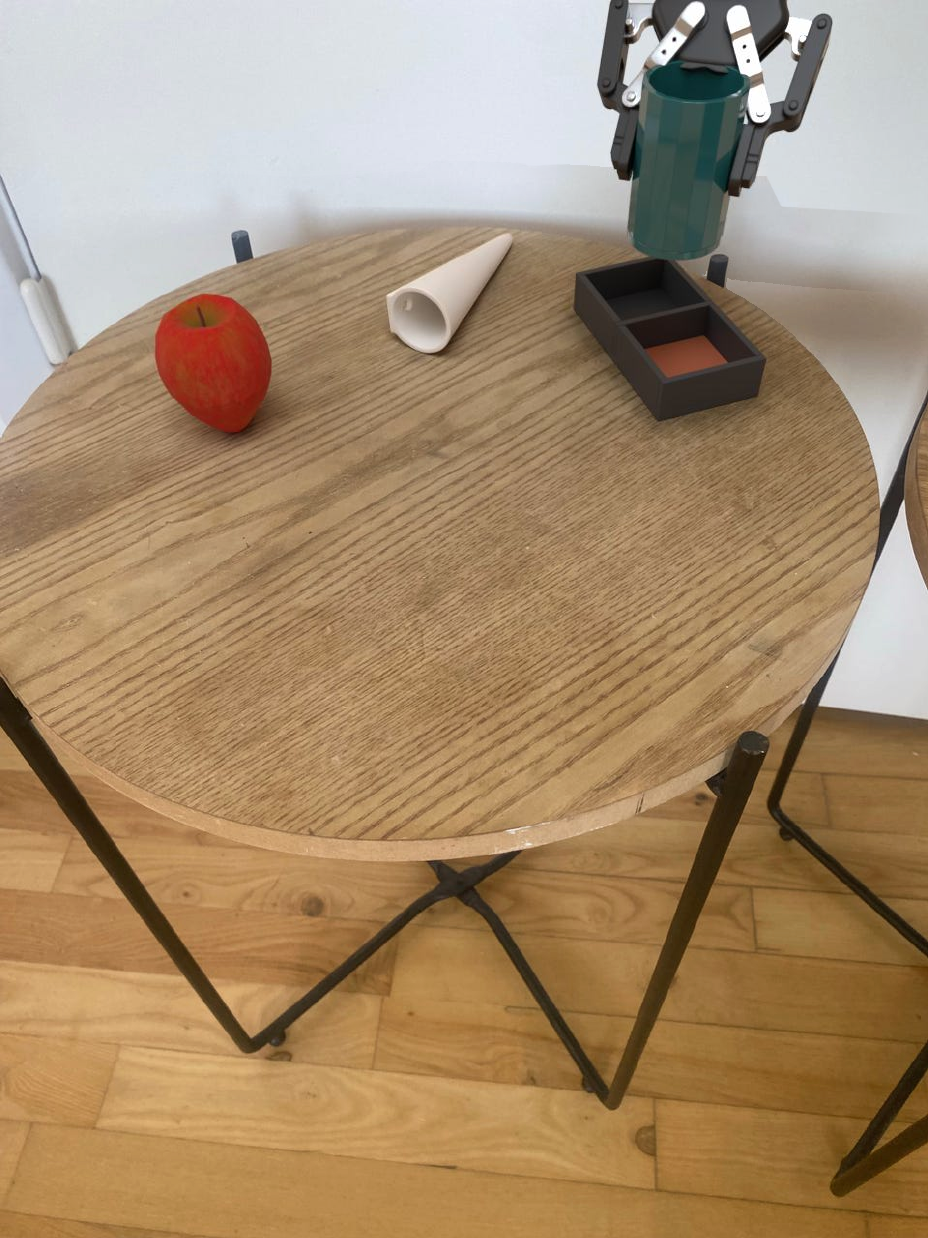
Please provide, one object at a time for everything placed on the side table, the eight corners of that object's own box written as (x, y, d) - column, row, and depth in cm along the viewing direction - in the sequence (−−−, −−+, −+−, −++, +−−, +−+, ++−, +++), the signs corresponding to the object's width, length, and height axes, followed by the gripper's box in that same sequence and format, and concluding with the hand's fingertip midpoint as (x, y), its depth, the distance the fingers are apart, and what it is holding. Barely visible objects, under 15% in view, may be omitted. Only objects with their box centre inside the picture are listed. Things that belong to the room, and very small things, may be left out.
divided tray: (757, 396, 76) (767, 357, 74) (658, 421, 75) (663, 383, 72) (662, 288, 87) (667, 251, 84) (573, 309, 85) (575, 272, 83)
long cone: (561, 274, 92) (452, 359, 81) (504, 264, 95) (391, 345, 83) (561, 213, 88) (447, 293, 77) (502, 205, 91) (383, 281, 80)
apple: (188, 393, 79) (151, 274, 71) (290, 389, 79) (264, 269, 71) (171, 461, 74) (128, 341, 66) (280, 457, 74) (250, 335, 66)
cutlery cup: (722, 215, 67) (750, 60, 59) (720, 264, 63) (750, 104, 55) (630, 209, 68) (646, 56, 60) (623, 257, 64) (638, 99, 56)
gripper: (626, -142, 57) (559, 146, 59) (877, -128, 53) (795, 178, 56) (639, -65, 64) (578, 189, 66) (861, -48, 61) (789, 220, 63)
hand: (678, 183), depth 61 cm, fingers closed on cutlery cup, 6 cm apart
